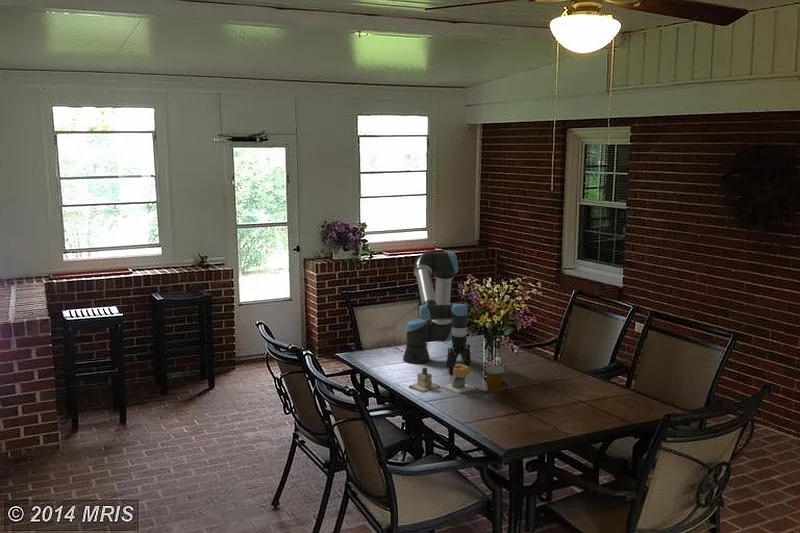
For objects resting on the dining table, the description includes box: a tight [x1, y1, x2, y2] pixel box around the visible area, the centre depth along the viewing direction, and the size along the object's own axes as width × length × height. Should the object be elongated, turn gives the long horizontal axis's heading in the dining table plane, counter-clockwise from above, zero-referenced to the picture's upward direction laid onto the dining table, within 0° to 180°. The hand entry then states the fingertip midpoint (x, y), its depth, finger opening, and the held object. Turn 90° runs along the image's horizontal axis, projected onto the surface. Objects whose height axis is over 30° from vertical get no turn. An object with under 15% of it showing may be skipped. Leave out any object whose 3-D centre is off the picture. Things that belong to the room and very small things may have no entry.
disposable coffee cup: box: [484, 364, 505, 394], centre depth 364 cm, size 10×10×12 cm
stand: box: [408, 367, 441, 393], centre depth 368 cm, size 12×10×10 cm
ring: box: [446, 363, 471, 377], centre depth 367 cm, size 8×8×4 cm
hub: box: [440, 376, 476, 395], centre depth 367 cm, size 12×12×10 cm
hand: (458, 379), depth 367 cm, fingers closed on ring, 8 cm apart
